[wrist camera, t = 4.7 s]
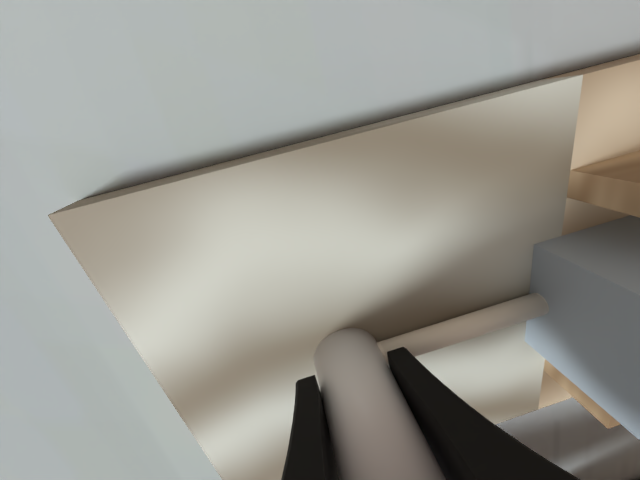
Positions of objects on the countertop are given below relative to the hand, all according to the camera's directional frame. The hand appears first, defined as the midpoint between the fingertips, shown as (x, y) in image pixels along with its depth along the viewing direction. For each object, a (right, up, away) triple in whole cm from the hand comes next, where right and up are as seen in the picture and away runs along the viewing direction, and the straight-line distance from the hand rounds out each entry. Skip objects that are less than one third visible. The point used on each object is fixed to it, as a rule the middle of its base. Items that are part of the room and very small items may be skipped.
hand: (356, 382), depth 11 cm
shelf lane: (+5, +3, +3) cm, 7 cm away
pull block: (+5, +2, +2) cm, 6 cm away
